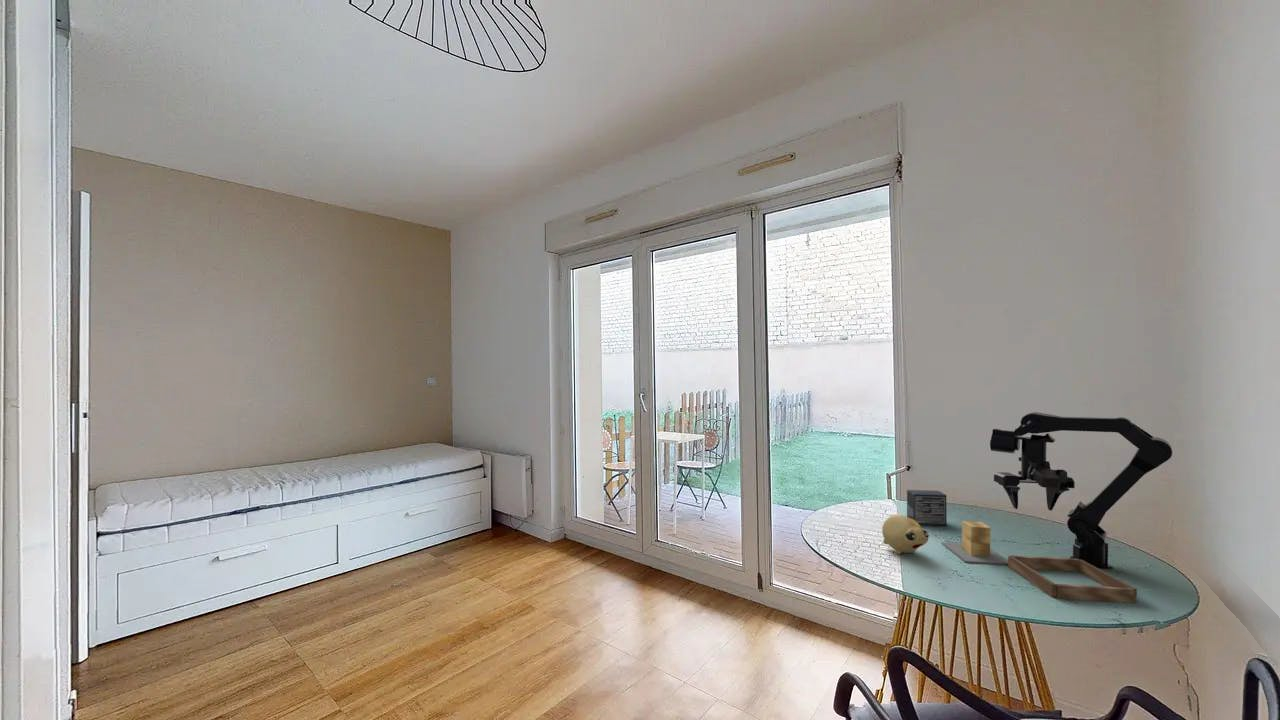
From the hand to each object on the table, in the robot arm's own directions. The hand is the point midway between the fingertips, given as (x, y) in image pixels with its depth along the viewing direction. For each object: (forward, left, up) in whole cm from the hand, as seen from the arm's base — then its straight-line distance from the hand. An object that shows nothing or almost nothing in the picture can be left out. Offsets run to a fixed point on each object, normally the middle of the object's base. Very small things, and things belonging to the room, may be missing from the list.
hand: (1032, 509), depth 148 cm
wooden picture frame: (+5, +22, -12) cm, 26 cm away
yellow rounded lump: (+30, -13, -12) cm, 35 cm away
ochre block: (+18, +5, -12) cm, 22 cm away
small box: (+20, -22, -12) cm, 32 cm away
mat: (+18, +5, -12) cm, 22 cm away
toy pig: (+38, +7, -12) cm, 41 cm away
